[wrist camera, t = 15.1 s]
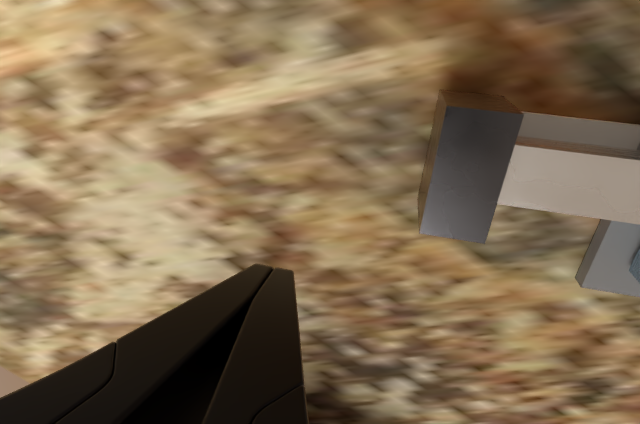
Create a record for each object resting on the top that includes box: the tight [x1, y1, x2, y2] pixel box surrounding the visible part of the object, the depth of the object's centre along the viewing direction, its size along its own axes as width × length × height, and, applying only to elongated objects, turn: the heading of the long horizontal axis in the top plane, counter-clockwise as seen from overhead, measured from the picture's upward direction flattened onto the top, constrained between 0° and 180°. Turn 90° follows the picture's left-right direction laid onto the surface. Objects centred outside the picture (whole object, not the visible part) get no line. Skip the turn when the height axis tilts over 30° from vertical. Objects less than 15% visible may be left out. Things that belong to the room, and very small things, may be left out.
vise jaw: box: [418, 90, 640, 283], centre depth 15 cm, size 12×9×3 cm
